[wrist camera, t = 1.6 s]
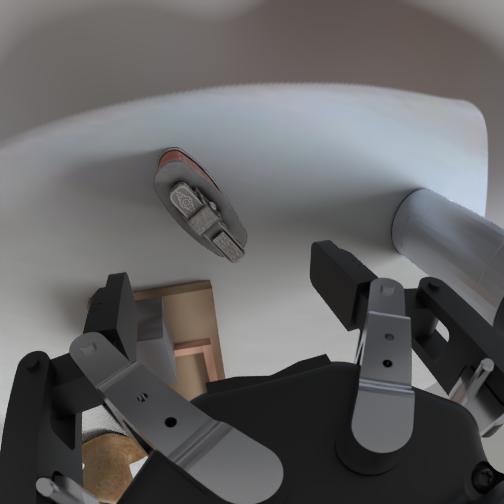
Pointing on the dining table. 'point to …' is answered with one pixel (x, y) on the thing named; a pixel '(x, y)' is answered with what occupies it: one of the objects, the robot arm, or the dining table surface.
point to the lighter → (199, 204)
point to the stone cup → (109, 466)
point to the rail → (179, 336)
